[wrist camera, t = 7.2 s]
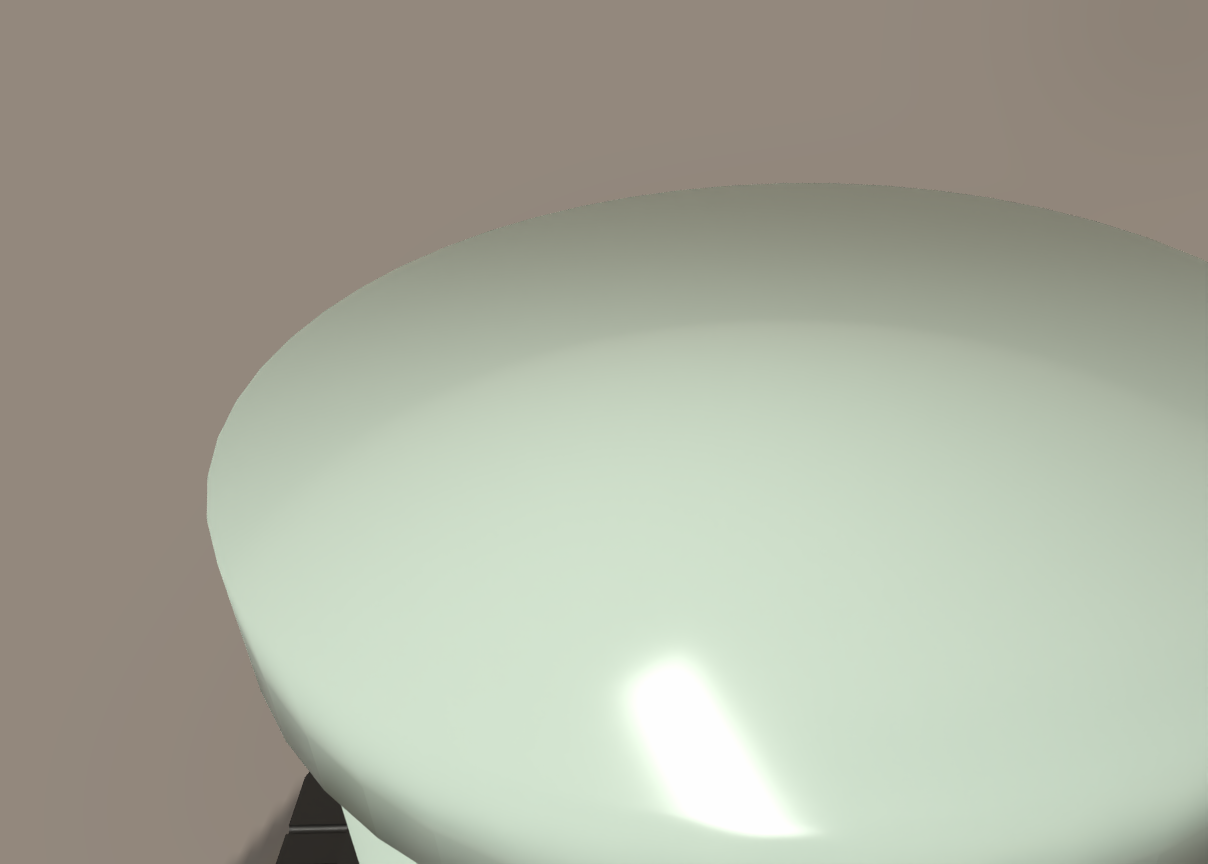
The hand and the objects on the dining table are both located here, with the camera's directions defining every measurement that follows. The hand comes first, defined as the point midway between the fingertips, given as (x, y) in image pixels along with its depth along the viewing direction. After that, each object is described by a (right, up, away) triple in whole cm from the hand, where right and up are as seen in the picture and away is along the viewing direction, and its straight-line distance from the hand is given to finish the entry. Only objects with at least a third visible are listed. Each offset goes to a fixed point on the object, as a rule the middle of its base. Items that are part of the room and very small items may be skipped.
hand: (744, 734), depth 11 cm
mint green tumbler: (+1, -8, +2) cm, 9 cm away
